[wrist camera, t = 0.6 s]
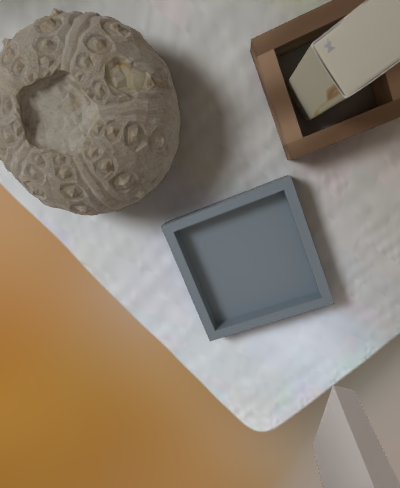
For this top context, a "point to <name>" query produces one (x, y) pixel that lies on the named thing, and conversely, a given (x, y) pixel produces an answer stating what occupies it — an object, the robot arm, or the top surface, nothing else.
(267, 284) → the tray
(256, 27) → the top surface
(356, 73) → the skincare box
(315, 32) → the socket block
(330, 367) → the top surface
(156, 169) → the decorative shell
